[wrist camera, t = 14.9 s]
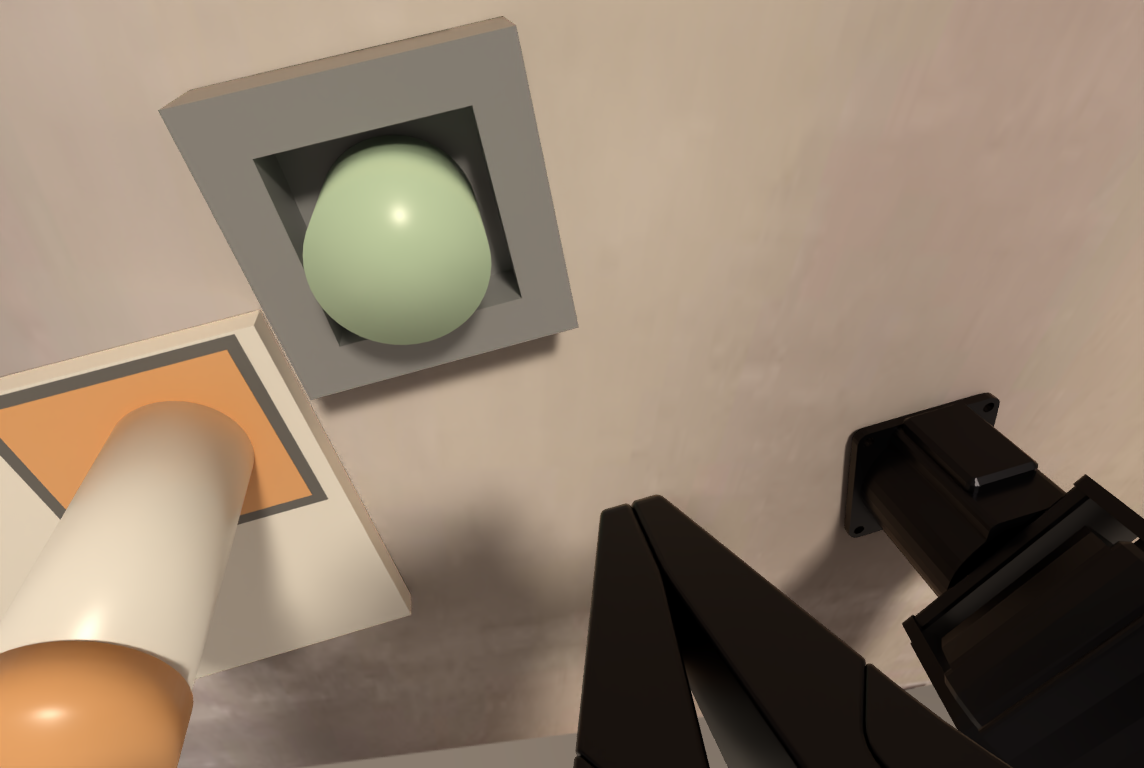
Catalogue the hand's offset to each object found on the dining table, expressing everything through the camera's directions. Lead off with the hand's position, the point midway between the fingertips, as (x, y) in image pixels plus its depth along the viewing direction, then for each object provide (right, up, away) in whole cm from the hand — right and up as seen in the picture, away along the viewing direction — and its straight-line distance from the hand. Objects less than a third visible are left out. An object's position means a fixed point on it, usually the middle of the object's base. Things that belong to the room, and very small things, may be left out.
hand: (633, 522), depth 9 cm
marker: (-13, 0, +11) cm, 17 cm away
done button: (-6, +7, +9) cm, 13 cm away
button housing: (-6, +7, +10) cm, 13 cm away
